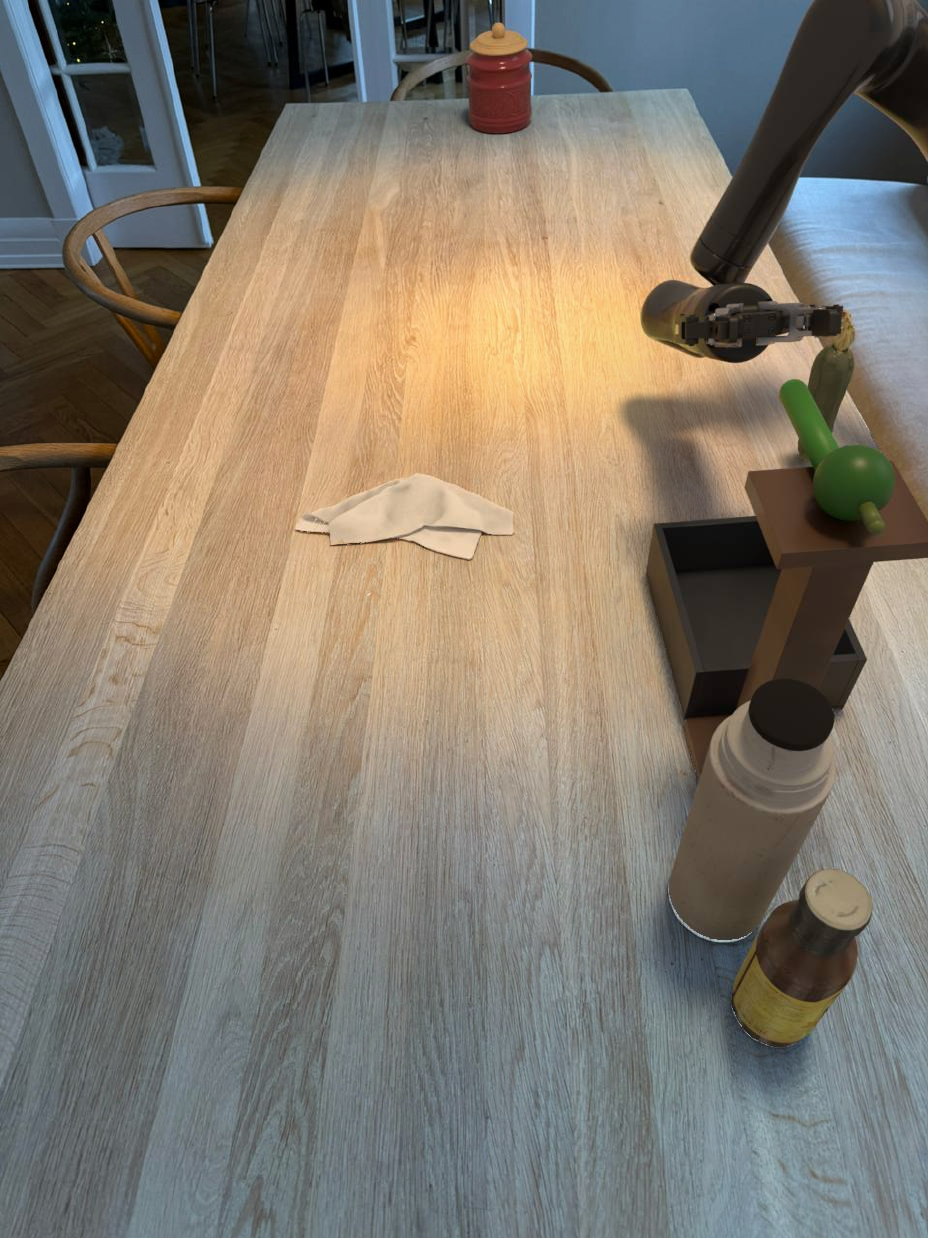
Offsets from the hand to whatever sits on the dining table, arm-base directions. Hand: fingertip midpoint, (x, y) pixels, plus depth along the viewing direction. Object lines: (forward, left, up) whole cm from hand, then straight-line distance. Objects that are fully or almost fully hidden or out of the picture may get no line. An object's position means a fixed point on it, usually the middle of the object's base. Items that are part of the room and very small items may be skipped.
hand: (783, 326), depth 75 cm
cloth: (+35, -13, -30) cm, 48 cm away
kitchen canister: (+14, -129, -30) cm, 133 cm away
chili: (+4, +21, +2) cm, 21 cm away
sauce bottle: (+8, +46, -30) cm, 56 cm away
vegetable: (-14, -17, -30) cm, 37 cm away
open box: (+1, +10, -30) cm, 32 cm away
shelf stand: (+4, +24, -30) cm, 39 cm away
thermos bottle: (+10, +37, -30) cm, 49 cm away
